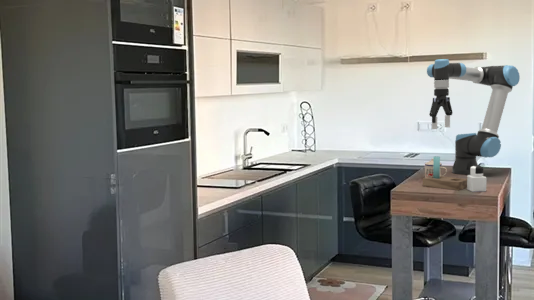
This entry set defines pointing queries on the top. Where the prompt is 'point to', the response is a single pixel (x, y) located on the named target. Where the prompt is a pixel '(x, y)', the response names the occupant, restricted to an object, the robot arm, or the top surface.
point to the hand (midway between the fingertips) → (441, 128)
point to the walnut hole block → (445, 183)
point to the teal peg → (436, 167)
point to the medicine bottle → (476, 179)
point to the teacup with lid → (431, 169)
